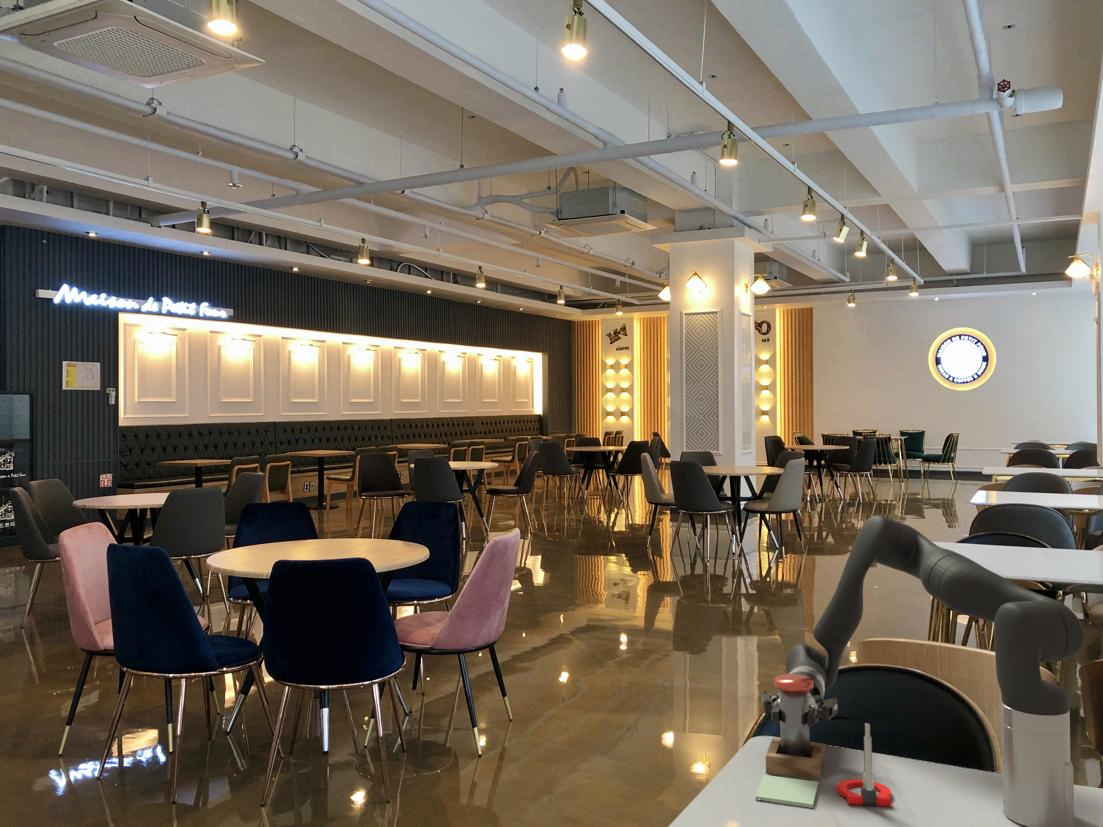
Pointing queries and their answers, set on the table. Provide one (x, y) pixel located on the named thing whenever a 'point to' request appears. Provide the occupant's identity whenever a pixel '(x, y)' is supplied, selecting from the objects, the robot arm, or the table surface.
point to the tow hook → (866, 782)
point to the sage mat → (787, 791)
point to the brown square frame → (795, 761)
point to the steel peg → (794, 713)
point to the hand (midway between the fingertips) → (793, 719)
